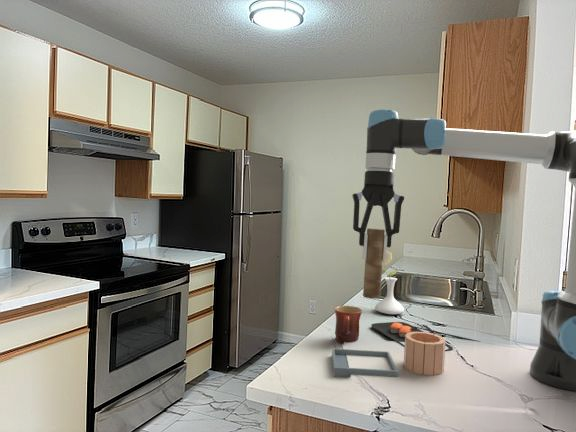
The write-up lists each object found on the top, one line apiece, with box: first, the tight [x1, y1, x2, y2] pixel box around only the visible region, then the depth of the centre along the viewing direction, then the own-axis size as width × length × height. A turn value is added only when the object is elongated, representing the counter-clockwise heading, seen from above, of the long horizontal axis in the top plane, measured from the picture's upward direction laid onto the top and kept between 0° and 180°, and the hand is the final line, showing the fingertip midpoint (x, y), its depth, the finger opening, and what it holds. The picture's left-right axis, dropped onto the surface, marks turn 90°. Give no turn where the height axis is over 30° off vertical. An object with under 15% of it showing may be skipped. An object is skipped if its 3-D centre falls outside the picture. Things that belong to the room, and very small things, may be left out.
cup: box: [403, 331, 447, 376], centre depth 117 cm, size 10×10×9 cm
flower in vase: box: [374, 250, 405, 315], centre depth 175 cm, size 13×11×25 cm
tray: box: [331, 348, 399, 378], centre depth 119 cm, size 16×14×2 cm
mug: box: [333, 305, 363, 345], centre depth 137 cm, size 12×9×10 cm
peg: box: [362, 227, 386, 300], centre depth 117 cm, size 4×4×18 cm
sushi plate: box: [371, 321, 481, 352], centre depth 146 cm, size 29×30×4 cm
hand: (373, 258), depth 117 cm, fingers closed on peg, 4 cm apart
